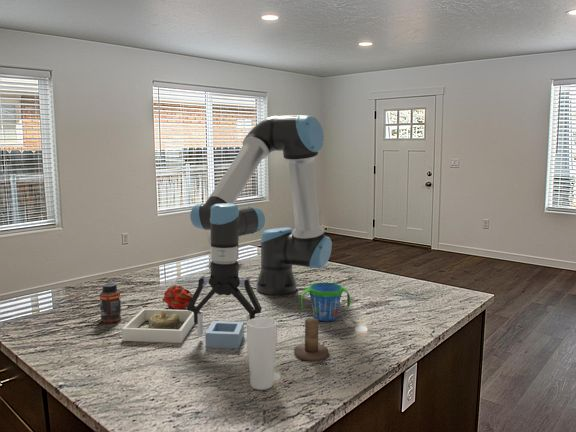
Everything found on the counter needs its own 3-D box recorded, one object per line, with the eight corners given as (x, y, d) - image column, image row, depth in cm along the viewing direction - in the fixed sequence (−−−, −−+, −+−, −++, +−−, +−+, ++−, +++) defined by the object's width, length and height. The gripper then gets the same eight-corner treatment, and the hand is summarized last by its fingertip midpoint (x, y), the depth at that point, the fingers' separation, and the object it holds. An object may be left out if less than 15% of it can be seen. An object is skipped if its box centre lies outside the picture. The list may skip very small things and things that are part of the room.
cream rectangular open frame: (143, 319, 152) (143, 308, 151) (196, 321, 151) (196, 310, 150) (122, 340, 135) (121, 328, 135) (181, 342, 134) (181, 330, 134)
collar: (212, 334, 141) (212, 321, 140) (243, 335, 140) (243, 322, 139) (205, 347, 132) (205, 333, 131) (238, 348, 131) (238, 334, 131)
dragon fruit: (165, 309, 166) (193, 320, 161) (152, 301, 159) (180, 312, 153) (177, 286, 169) (204, 297, 163) (164, 277, 162) (193, 288, 156)
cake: (177, 336, 141) (176, 319, 140) (142, 336, 141) (141, 319, 140) (184, 321, 150) (183, 305, 149) (152, 321, 151) (151, 305, 149)
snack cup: (300, 323, 150) (301, 291, 148) (300, 311, 160) (300, 281, 159) (351, 324, 150) (352, 292, 148) (348, 312, 160) (348, 282, 159)
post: (295, 345, 133) (295, 314, 132) (328, 347, 133) (328, 315, 131) (293, 360, 124) (293, 326, 123) (328, 361, 124) (329, 327, 122)
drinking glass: (246, 378, 114) (246, 317, 112) (275, 377, 115) (276, 316, 113) (246, 393, 108) (246, 328, 106) (277, 392, 108) (278, 327, 106)
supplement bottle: (125, 318, 153) (124, 283, 151) (113, 324, 147) (111, 288, 146) (109, 315, 155) (108, 281, 153) (96, 322, 149) (95, 286, 148)
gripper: (175, 262, 130) (176, 339, 132) (268, 265, 128) (267, 343, 131) (182, 256, 137) (183, 329, 140) (271, 259, 135) (270, 332, 138)
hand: (224, 336), depth 135 cm, fingers open, 13 cm apart
